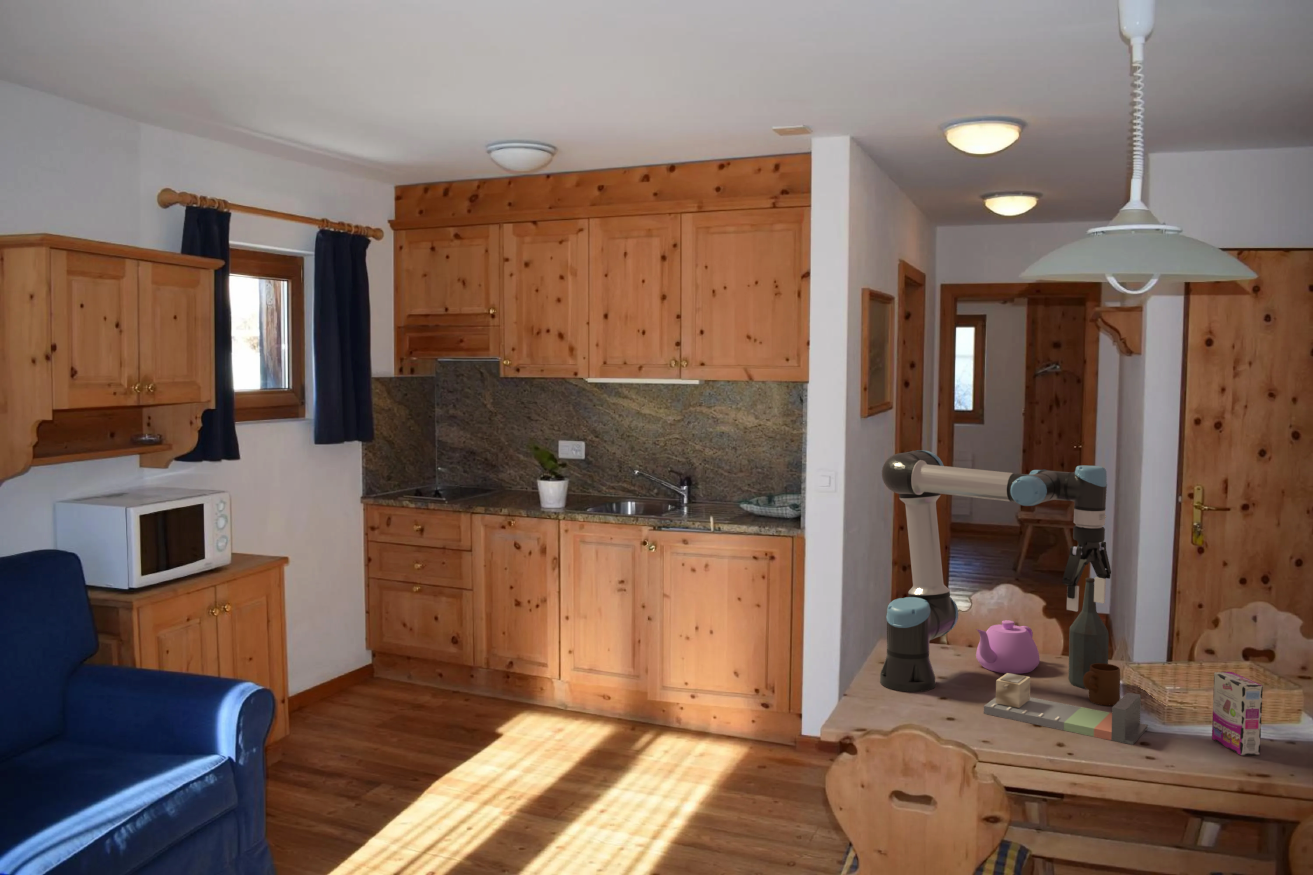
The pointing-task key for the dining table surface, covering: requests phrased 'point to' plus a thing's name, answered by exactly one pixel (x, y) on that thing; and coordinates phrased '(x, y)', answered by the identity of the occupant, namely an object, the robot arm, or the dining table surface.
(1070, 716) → the track
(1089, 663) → the bottle
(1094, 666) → the mug
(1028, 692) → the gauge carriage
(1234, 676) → the candy bar box
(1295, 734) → the dining table surface
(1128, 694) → the grey block
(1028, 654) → the teapot
